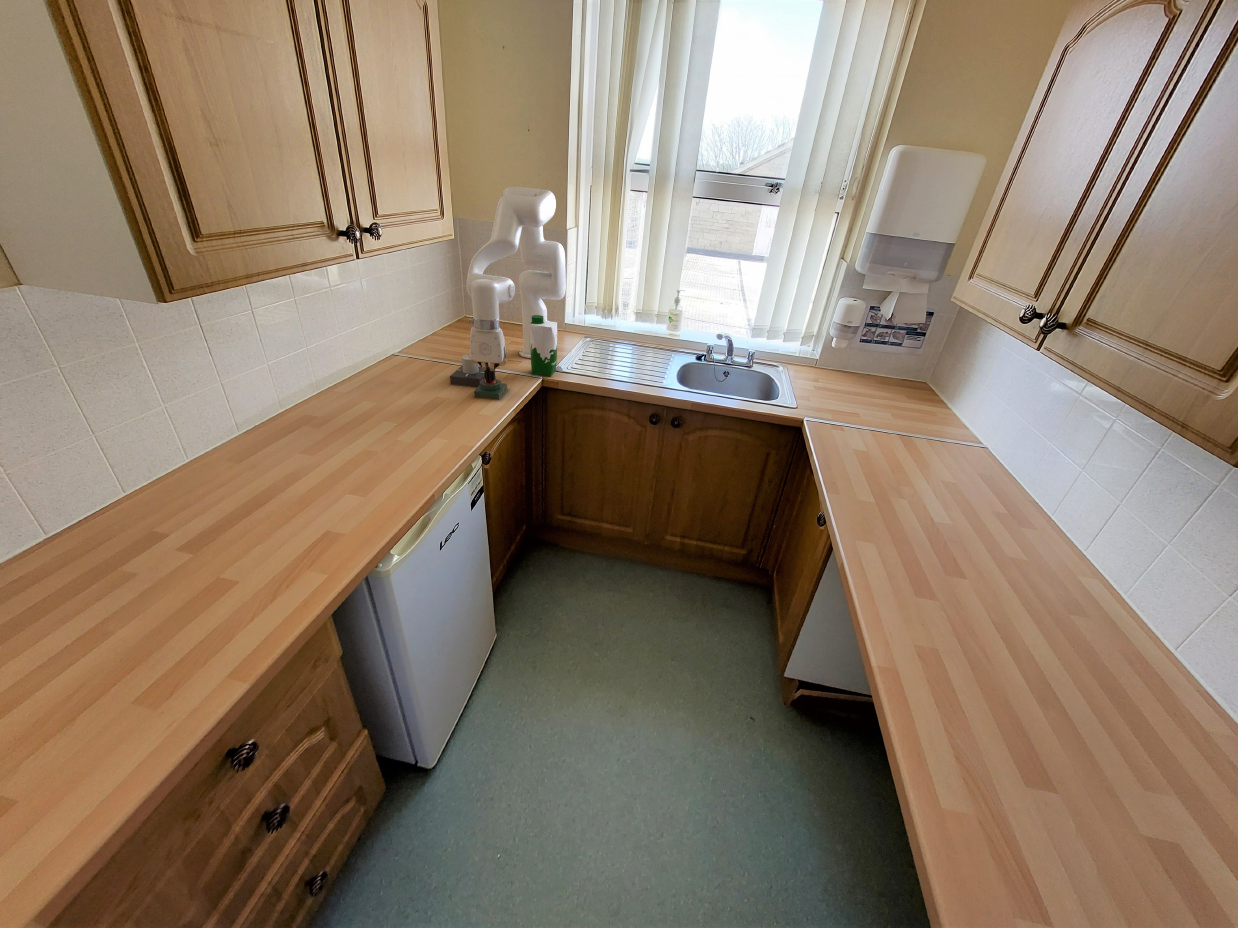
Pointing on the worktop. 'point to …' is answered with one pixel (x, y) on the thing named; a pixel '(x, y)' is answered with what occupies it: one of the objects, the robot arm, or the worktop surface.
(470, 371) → the dial knob
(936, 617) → the worktop surface
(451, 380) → the dial panel
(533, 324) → the milk carton
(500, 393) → the button box
